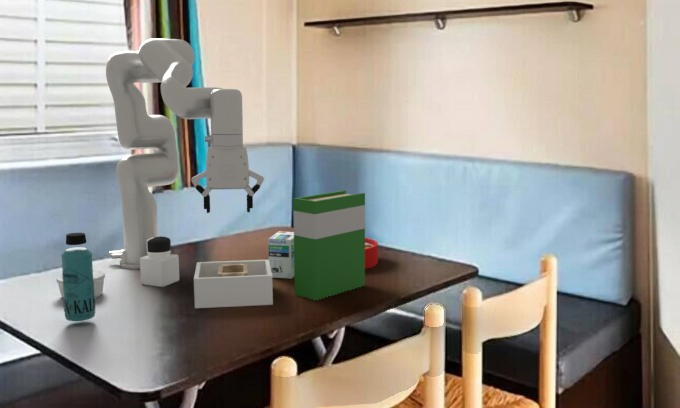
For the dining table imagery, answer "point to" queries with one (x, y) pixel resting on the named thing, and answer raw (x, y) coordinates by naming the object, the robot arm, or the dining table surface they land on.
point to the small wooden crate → (232, 270)
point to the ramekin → (97, 278)
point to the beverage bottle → (78, 280)
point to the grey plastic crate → (233, 285)
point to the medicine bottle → (159, 263)
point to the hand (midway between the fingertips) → (228, 211)
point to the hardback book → (329, 244)
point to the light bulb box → (281, 254)
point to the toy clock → (371, 253)
